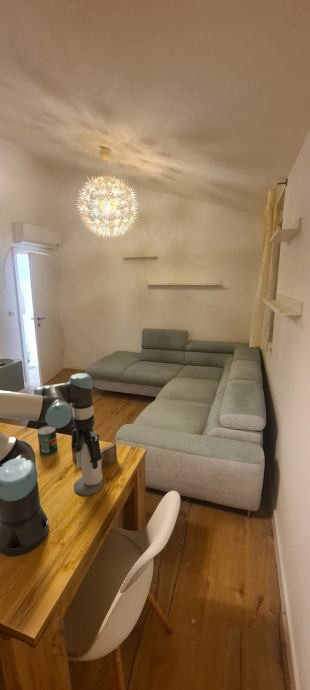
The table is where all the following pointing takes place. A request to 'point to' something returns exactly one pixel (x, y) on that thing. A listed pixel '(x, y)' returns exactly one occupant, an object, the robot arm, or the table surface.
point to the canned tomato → (47, 441)
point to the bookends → (103, 454)
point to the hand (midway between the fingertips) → (87, 470)
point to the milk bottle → (86, 467)
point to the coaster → (86, 487)
